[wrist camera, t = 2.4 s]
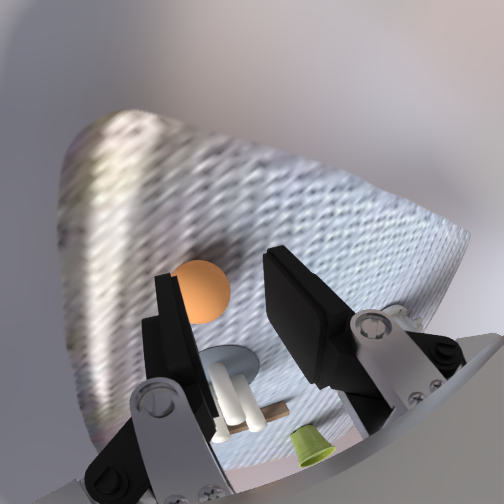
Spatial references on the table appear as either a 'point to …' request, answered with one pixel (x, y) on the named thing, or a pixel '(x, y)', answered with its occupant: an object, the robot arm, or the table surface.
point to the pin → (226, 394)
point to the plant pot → (310, 445)
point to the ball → (203, 290)
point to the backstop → (268, 413)
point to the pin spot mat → (231, 361)
